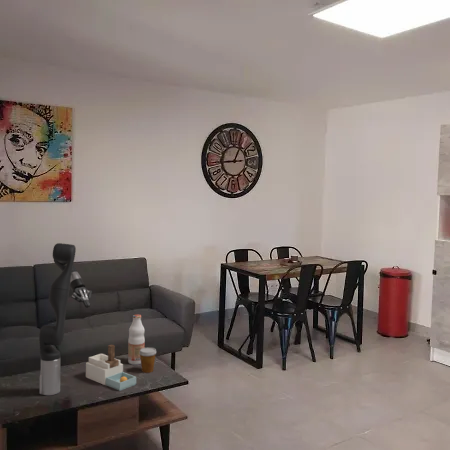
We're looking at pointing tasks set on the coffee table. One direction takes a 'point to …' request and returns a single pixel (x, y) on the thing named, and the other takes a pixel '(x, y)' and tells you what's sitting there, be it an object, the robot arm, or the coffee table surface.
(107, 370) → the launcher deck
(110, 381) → the bin
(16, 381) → the coffee table surface
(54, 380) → the robot arm
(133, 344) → the fruit juice
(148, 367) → the disposable coffee cup
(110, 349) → the plunger
